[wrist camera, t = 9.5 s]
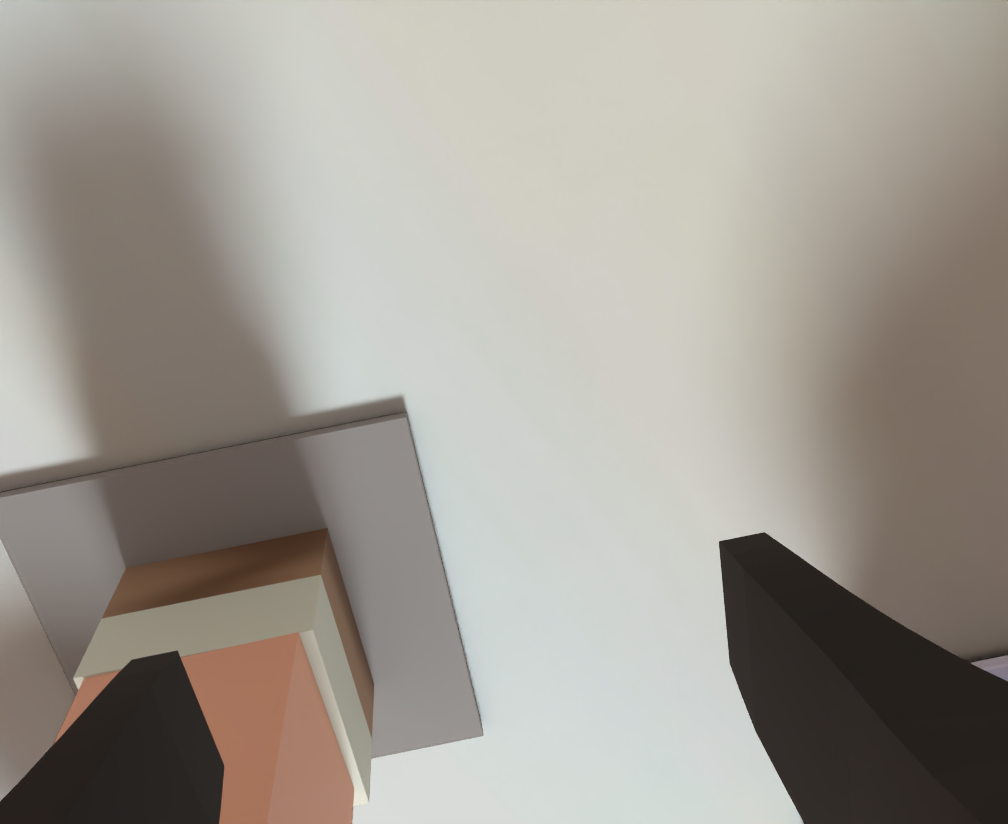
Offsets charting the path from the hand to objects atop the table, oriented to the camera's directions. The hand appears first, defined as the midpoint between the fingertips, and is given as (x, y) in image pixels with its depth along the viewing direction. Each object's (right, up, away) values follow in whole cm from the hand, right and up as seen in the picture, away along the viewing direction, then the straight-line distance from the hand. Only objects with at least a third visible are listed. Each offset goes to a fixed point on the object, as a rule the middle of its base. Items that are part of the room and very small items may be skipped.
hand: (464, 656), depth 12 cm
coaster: (-6, -2, +12) cm, 13 cm away
